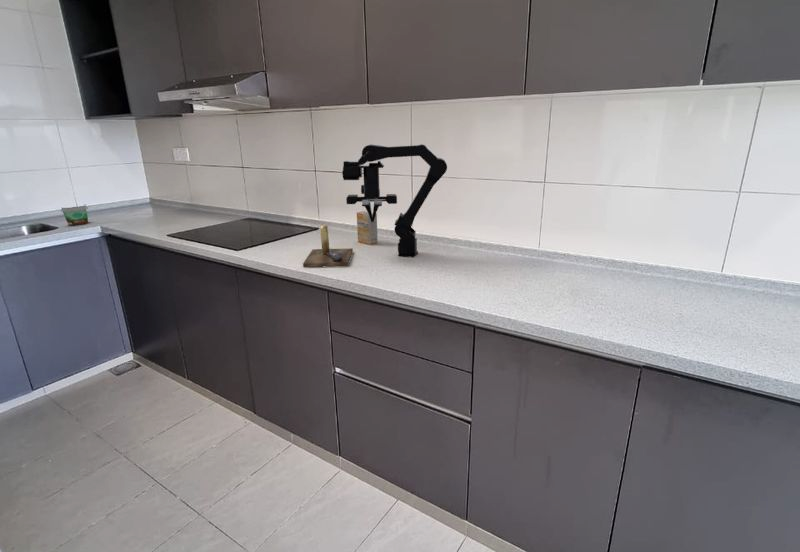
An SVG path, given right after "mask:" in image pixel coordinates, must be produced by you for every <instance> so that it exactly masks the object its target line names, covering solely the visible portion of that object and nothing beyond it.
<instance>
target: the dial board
mask: <svg viewBox="0 0 800 552" xmlns="http://www.w3.org/2000/svg"><path fill="white" fill-rule="evenodd" d="M321 249H322V248H319V249H318V248H317V249H315V248H313V249H312V250H311V251H310V252H309V254H308V256H306V259H305V260H304V261H303V262H302V265H303V266H302V268H303V267H309V268H324V267H323V266H348V267H349V265H348V264H350V262H349V261H351V259H350V258H352V256H351V255H353V253H352V252H354V250H353V247H351V248H350V247H349V248H329V250H330V252H332V253H334V252H341V253H342V260H341V261H333V260H332V258H331V257H330V256H328V255H326V254H323V253H322V250H321Z"/></svg>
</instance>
